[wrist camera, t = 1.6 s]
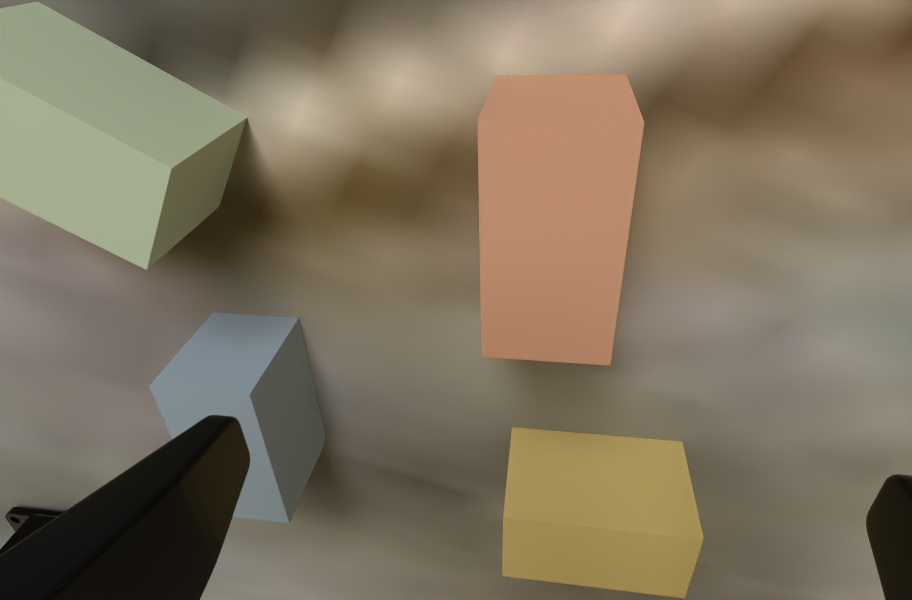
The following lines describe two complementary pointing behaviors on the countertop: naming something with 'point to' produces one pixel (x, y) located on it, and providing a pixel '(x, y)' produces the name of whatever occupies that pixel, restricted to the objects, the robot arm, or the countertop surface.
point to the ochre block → (600, 512)
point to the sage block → (106, 138)
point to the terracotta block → (555, 214)
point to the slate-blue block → (251, 403)
